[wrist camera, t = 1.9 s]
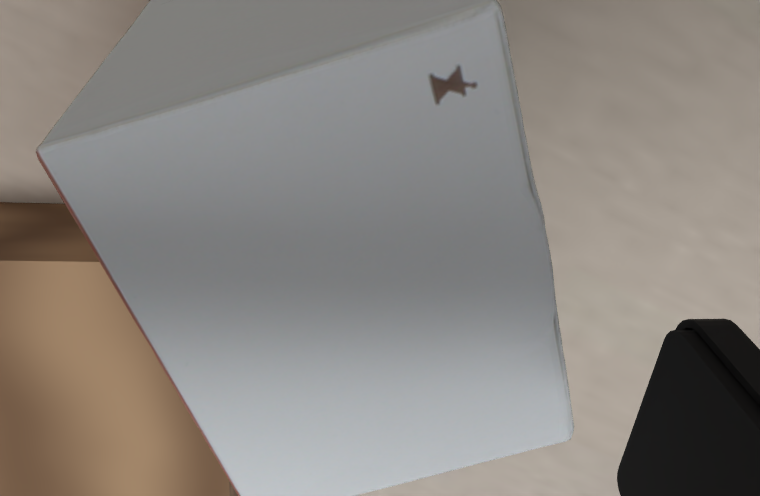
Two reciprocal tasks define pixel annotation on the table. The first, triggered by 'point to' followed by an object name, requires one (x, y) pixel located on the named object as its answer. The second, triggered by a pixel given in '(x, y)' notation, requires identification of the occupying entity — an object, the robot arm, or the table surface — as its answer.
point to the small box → (325, 234)
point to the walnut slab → (84, 377)
